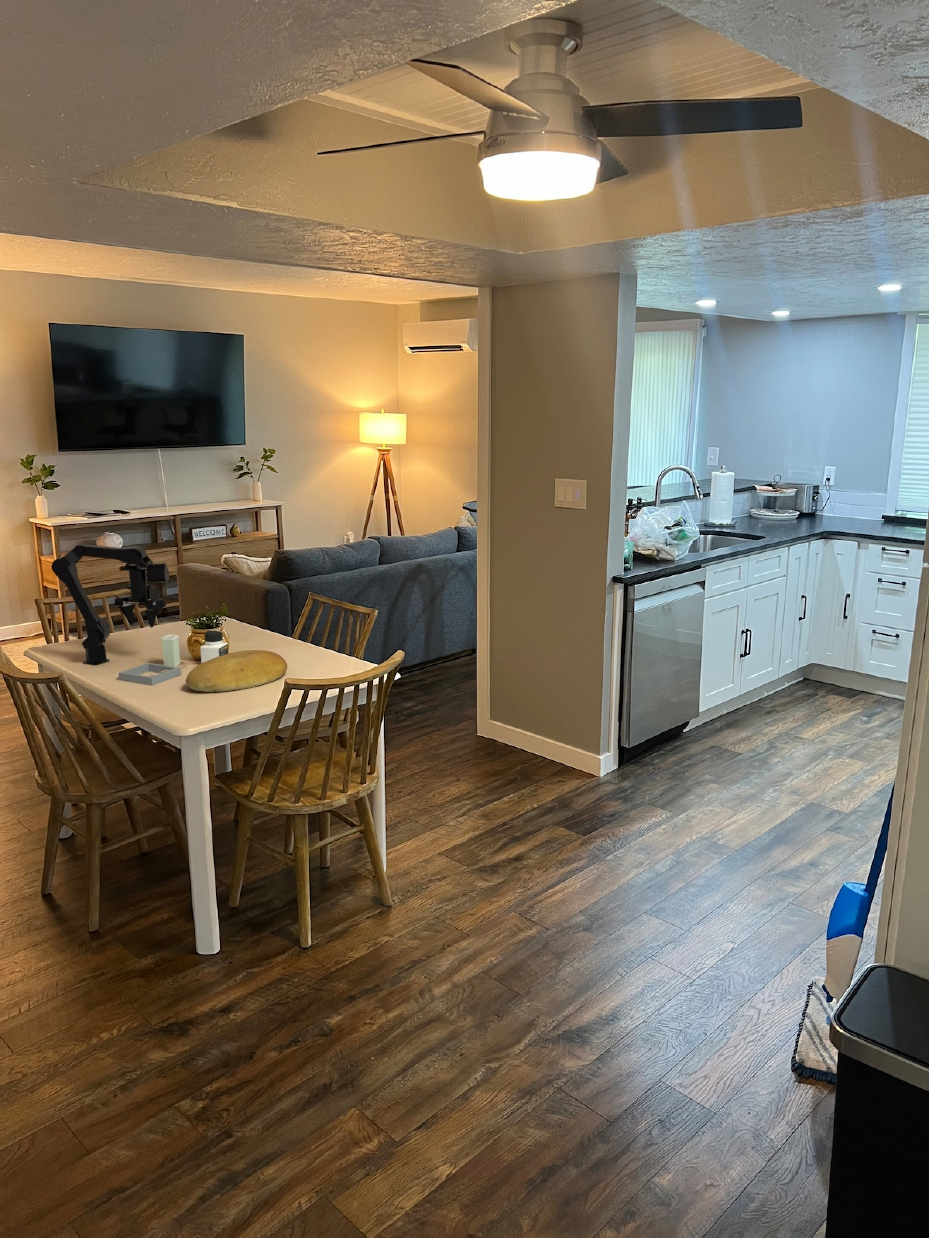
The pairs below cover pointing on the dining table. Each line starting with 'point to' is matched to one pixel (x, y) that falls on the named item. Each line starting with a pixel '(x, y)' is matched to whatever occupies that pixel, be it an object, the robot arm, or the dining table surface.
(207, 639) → the medicine bottle
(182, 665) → the coaster
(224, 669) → the bread
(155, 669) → the grey square frame
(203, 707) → the dining table surface
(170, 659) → the tall square-topped block
